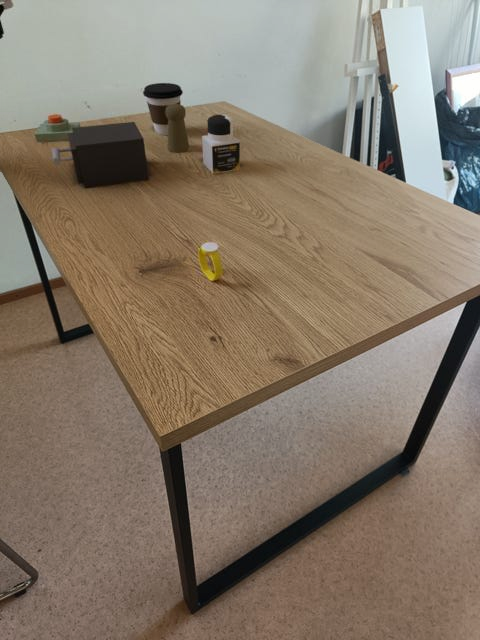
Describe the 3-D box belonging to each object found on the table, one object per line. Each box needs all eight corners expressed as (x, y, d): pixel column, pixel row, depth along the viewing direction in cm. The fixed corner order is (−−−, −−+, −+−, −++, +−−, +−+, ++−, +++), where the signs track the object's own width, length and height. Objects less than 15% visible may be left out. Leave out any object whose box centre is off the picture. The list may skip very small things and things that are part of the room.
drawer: (59, 186, 102) (49, 151, 96) (57, 167, 110) (48, 134, 105) (138, 176, 106) (133, 142, 101) (130, 159, 114) (125, 127, 109)
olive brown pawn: (163, 150, 121) (158, 106, 114) (174, 143, 126) (170, 100, 119) (183, 153, 120) (179, 109, 113) (193, 146, 124) (190, 103, 117)
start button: (48, 125, 126) (46, 118, 125) (50, 121, 128) (48, 114, 127) (61, 124, 126) (60, 117, 125) (63, 120, 129) (62, 114, 128)
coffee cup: (148, 126, 137) (143, 82, 129) (185, 125, 138) (182, 82, 130) (147, 138, 128) (141, 92, 121) (185, 137, 129) (182, 92, 121)
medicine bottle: (213, 174, 109) (211, 123, 102) (203, 164, 114) (200, 114, 107) (240, 170, 112) (240, 119, 104) (229, 160, 117) (228, 110, 109)
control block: (36, 142, 126) (32, 127, 123) (42, 131, 132) (38, 117, 130) (77, 140, 127) (74, 125, 124) (80, 129, 134) (77, 115, 131)
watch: (195, 270, 78) (193, 240, 74) (209, 265, 79) (207, 235, 75) (212, 287, 74) (210, 257, 70) (226, 282, 75) (226, 252, 72)
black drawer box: (85, 188, 103) (75, 145, 97) (81, 167, 112) (72, 127, 106) (148, 179, 107) (143, 138, 101) (139, 160, 116) (134, 121, 110)
